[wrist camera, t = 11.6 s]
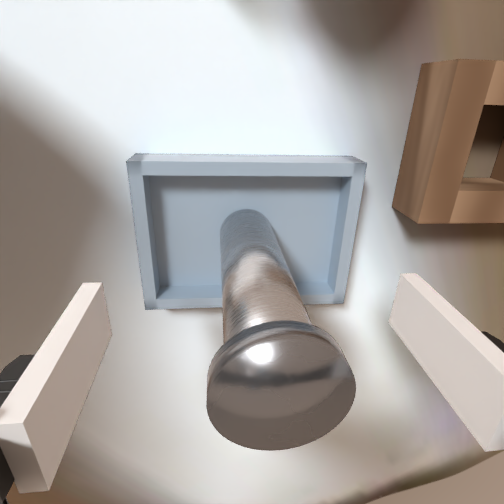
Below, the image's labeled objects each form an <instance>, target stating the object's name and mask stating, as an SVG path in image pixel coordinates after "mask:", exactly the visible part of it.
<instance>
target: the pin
mask: <svg viewBox="0 0 504 504" xmlns="http://www.w3.org/2000/svg"><path fill="white" fill-rule="evenodd" d="M220 252H221V281H222V309H223V338H224V345H223V346H221V348H220V349H219V350H218V351H217V353H216V354H215V356H214V357H213V359H212V361H211V364H210V366H209V370H208V375H207V412H208V416H209V419H210V421H211V423H212V424H213V426H214V427H215V428H216V430H217V431H218V432H219V433H220V434H221V435H222V436H224V437H225V438H227V439H228V440H230V441H232V442H234V443H235V444H238V445H241V446H243V447H247V448H251V449H257V450H283V449H290V448H294V447H298V446H302V445H305V444H307V443H310V442H312V441H314V440H316V439H318V438H320V437H322V436H324V435H325V434H327V433H328V432H330V431H331V430H332V429H334V428H335V427H336V426H337V425H338V424H339V423H340V422H341V421H342V420H343V419H344V417H345V416H346V415H347V413H348V412H349V410H350V408H351V406H352V404H353V401H354V398H355V391H356V384H355V379H354V375H353V373H352V370H351V368H350V366H349V364H348V362H347V360H346V358H345V356H344V354H343V352H342V350H341V348H340V346H339V345H338V343H337V342H336V341H335V339H334V338H333V337H332V336H331V335H329V334H328V333H327V332H325V331H324V330H322V329H320V328H318V327H316V326H313V325H312V323H311V321H310V319H309V316H308V314H307V311H306V309H305V307H304V304H303V302H302V299H301V297H300V295H299V292H298V290H297V287H296V285H295V282H294V280H293V278H292V275H291V273H290V270H289V268H288V266H287V263H286V261H285V258H284V256H283V253H282V251H281V249H280V246H279V244H278V241H277V239H276V237H275V234H274V232H273V229H272V227H271V224H270V222H269V221H268V219H267V218H266V217H265V216H264V215H263V214H262V213H260V212H258V211H255V210H251V209H242V210H238V211H235V212H233V213H232V214H230V215H229V216H228V217H227V218H226V219H225V220H224V222H223V224H222V226H221V229H220Z"/></svg>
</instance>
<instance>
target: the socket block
mask: <svg viewBox="0 0 504 504" xmlns="http://www.w3.org/2000/svg"><path fill="white" fill-rule="evenodd" d="M484 105H504V61H495V60H471V59H455V60H447V61H440V62H432V63H424V64H422V65H421V70H420V75H419V80H418V84H417V89H416V94H415V99H414V103H413V108H412V113H411V118H410V122H409V127H408V132H407V137H406V141H405V146H404V151H403V156H402V160H401V165H400V170H399V175H398V179H397V184H396V189H395V194H394V198H393V203H392V207H393V208H395V209H396V210H398V211H399V212H401V213H402V214H404V215H405V216H407V217H408V218H410V219H411V220H413V221H414V222H416V223H418V224H432V223H504V137H503V141H502V144H501V147H500V150H499V153H498V156H497V159H496V162H495V165H494V168H493V171H492V174H491V177H490V178H463V174H464V171H465V167H466V164H467V161H468V157H469V154H470V150H471V147H472V143H473V140H474V137H475V133H476V130H477V126H478V123H479V119H480V116H481V113H482V109H483V106H484Z"/></svg>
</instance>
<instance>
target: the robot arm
mask: <svg viewBox="0 0 504 504" xmlns="http://www.w3.org/2000/svg"><path fill="white" fill-rule="evenodd" d="M388 323H389V324H390V325H391V327H392V328H393V329H394V331H395V332H396V333H397V335H398V336H399V337H400V339H401V340H402V341H403V343H404V344H405V345H406V347H407V348H408V349H409V351H410V352H411V353H412V355H413V356H414V357H415V359H416V360H417V361H418V363H419V364H420V365H421V367H422V368H423V369H424V371H425V372H426V373H427V375H428V376H429V377H430V379H431V380H432V381H433V383H434V384H435V385H436V387H437V388H438V389H439V391H440V392H441V393H442V395H443V396H444V397H445V399H446V400H447V401H448V403H449V404H450V405H451V407H452V408H453V409H454V411H455V412H456V413H457V415H458V416H459V417H460V419H461V420H462V421H463V423H464V424H465V425H466V427H467V428H468V429H469V431H470V432H471V433H472V435H473V436H474V437H475V439H476V440H477V441H478V443H479V444H480V445H481V447H482V448H483V449H484V451H496V450H504V343H503V342H502V341H501V340H499V339H497V338H496V337H494V336H492V335H490V334H489V333H487V332H480V331H479V330H478V329H477V328H476V327H475V326H474V325H473V324H472V323H470V322H469V321H468V320H467V319H466V318H465V317H464V316H463V315H462V314H461V313H459V312H458V311H457V310H456V309H455V308H454V307H453V306H452V305H451V304H450V303H448V302H447V301H446V300H445V299H444V298H443V297H442V296H441V295H440V294H439V293H437V292H436V291H435V290H434V289H433V288H432V287H431V286H430V285H429V284H428V283H426V282H425V281H424V280H423V279H422V278H421V277H420V276H419V275H418V274H417V273H406V274H400V278H399V282H398V286H397V290H396V294H395V298H394V302H393V306H392V310H391V314H390V318H389V322H388ZM111 336H112V332H111V327H110V321H109V316H108V311H107V306H106V300H105V295H104V290H103V284H102V282H95V283H82V285H81V286H80V288H79V289H78V291H77V292H76V294H75V296H74V297H73V299H72V300H71V302H70V303H69V305H68V306H67V308H66V309H65V311H64V312H63V314H62V315H61V317H60V318H59V320H58V321H57V323H56V324H55V326H54V327H53V329H52V330H51V332H50V333H49V335H48V336H47V338H46V339H45V341H44V342H43V344H42V345H41V347H40V348H39V350H38V351H37V353H36V354H35V355H20V356H19V357H17V358H16V359H15V360H14V361H12V362H11V363H10V364H9V365H7V366H6V367H5V368H4V369H3V371H2V372H1V373H0V504H9V503H8V501H7V499H6V496H7V494H8V492H9V490H10V488H11V486H12V484H13V482H15V485H16V487H17V489H18V491H19V493H31V492H42V491H49V490H50V487H51V485H52V482H53V480H54V477H55V475H56V472H57V470H58V467H59V465H60V462H61V460H62V458H63V455H64V453H65V450H66V448H67V445H68V443H69V440H70V438H71V435H72V433H73V430H74V428H75V425H76V423H77V420H78V418H79V415H80V413H81V411H82V408H83V406H84V403H85V401H86V398H87V396H88V393H89V391H90V388H91V386H92V383H93V381H94V378H95V376H96V373H97V371H98V368H99V366H100V364H101V361H102V359H103V356H104V354H105V351H106V349H107V346H108V344H109V341H110V339H111Z"/></svg>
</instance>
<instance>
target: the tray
mask: <svg viewBox="0 0 504 504" xmlns="http://www.w3.org/2000/svg"><path fill="white" fill-rule="evenodd" d="M126 163H127V171H128V178H129V186H130V194H131V202H132V210H133V217H134V225H135V233H136V241H137V248H138V256H139V264H140V272H141V280H142V287H143V295H144V303H145V310H151V309H182V308H214V307H222V281H221V252H220V229H221V226H222V224H223V222H224V220H225V219H226V218H227V217H228V216H229V215H230V214H232V213H233V212H235V211H238V210H242V209H251V210H255V211H258V212H260V213H262V214H263V215H264V216H265V217H266V218H267V219H268V221H269V222H270V224H271V227H272V229H273V232H274V234H275V237H276V239H277V241H278V244H279V246H280V249H281V251H282V253H283V256H284V258H285V261H286V263H287V266H288V268H289V270H290V273H291V275H292V278H293V280H294V282H295V285H296V287H297V290H298V292H299V295H300V297H301V299H302V302H303V304H304V305H309V304H341V303H344V297H345V291H346V286H347V280H348V274H349V268H350V262H351V256H352V250H353V244H354V238H355V232H356V226H357V220H358V215H359V209H360V203H361V197H362V191H363V185H364V179H365V173H366V167H367V163H365V162H363V161H361V160H359V159H357V158H355V157H353V156H304V155H219V154H135V155H133V156H132V157H131V158H129V159H128V160H127V161H126Z"/></svg>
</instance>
